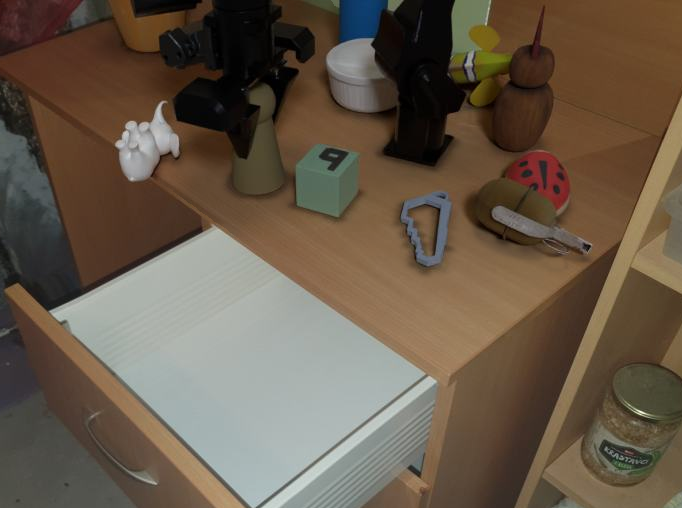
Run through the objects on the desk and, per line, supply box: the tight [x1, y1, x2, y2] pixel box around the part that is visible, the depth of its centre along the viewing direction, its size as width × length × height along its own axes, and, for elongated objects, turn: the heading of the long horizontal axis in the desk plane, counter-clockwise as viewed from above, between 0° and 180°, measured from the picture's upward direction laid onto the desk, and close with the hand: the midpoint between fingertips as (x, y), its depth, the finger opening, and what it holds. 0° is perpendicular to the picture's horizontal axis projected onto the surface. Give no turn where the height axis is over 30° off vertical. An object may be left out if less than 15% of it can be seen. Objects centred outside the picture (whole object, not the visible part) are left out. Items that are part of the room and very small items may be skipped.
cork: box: [231, 81, 287, 196], centre depth 78 cm, size 6×6×11 cm
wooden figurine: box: [491, 5, 556, 153], centre depth 79 cm, size 7×6×15 cm
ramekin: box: [325, 38, 399, 114], centre depth 92 cm, size 11×11×5 cm
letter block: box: [294, 142, 360, 218], centre depth 77 cm, size 5×5×5 cm
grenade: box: [474, 177, 593, 256], centre depth 71 cm, size 6×6×12 cm
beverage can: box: [338, 0, 389, 45], centre depth 98 cm, size 6×6×12 cm
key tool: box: [400, 190, 453, 267], centre depth 74 cm, size 12×1×5 cm
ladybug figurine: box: [504, 149, 571, 218], centre depth 76 cm, size 7×10×4 cm
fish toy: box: [448, 24, 513, 107], centre depth 92 cm, size 15×10×12 cm
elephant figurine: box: [114, 100, 181, 183], centre depth 83 cm, size 7×12×6 cm, turn 161°
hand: (254, 148), depth 79 cm, fingers closed on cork, 4 cm apart
